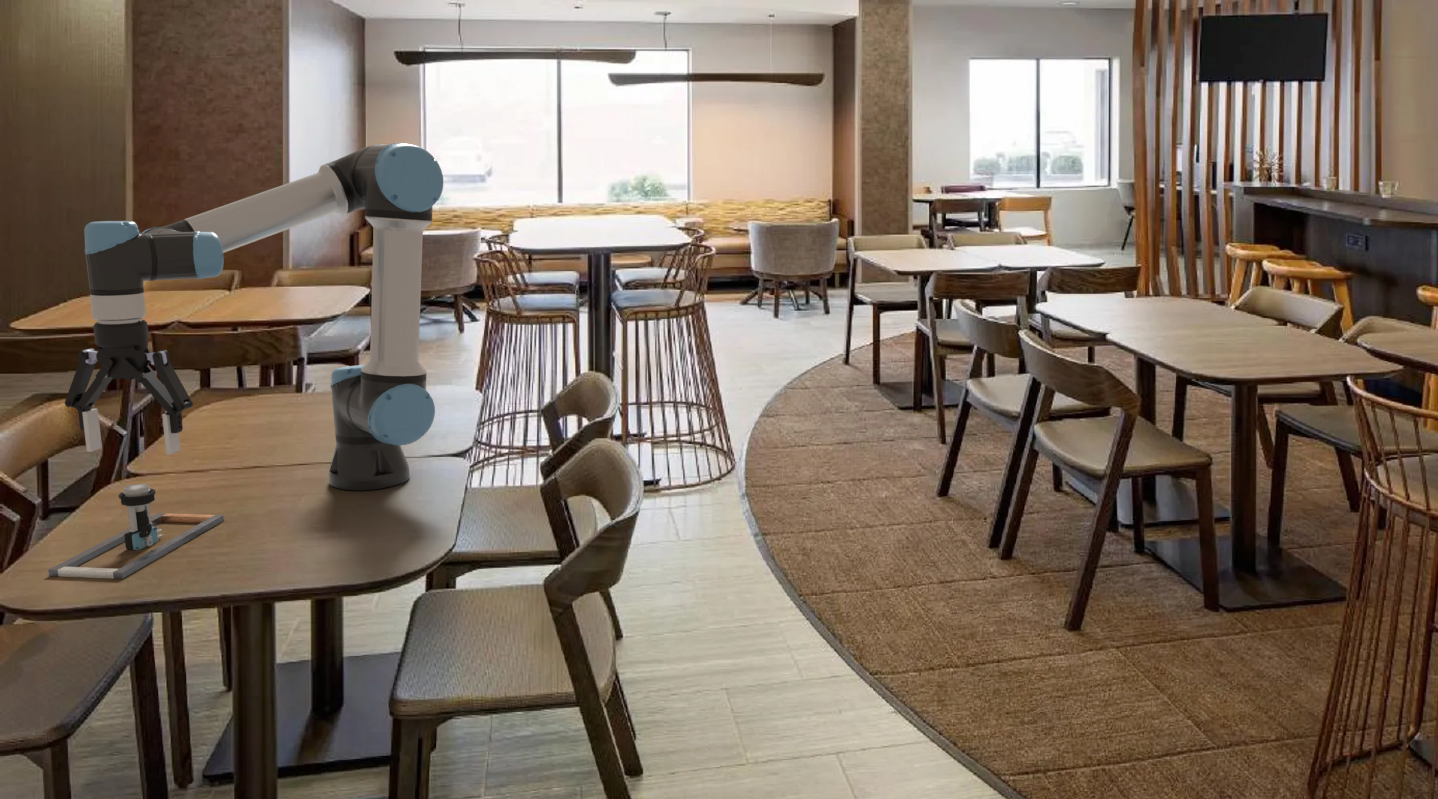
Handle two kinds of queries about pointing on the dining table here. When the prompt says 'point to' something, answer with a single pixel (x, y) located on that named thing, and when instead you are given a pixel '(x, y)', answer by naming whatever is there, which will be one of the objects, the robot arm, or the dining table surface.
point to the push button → (139, 516)
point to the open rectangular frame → (71, 569)
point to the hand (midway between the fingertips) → (133, 451)
